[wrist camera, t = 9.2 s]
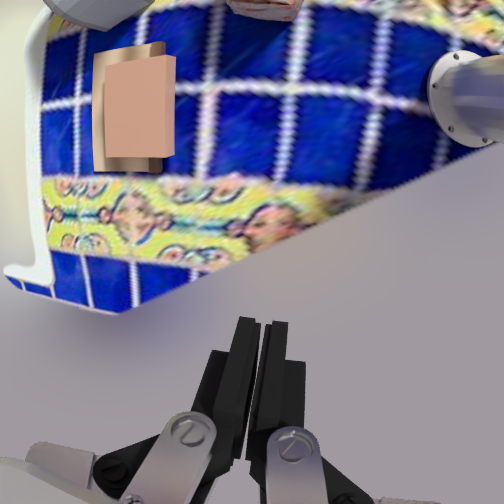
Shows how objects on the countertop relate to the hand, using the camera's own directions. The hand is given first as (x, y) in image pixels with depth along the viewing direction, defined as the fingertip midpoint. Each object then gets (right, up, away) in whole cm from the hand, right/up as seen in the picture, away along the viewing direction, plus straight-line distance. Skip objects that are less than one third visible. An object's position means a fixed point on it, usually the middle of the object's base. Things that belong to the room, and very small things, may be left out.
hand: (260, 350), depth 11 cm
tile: (-10, +20, +21) cm, 31 cm away
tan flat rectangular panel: (-17, +22, +25) cm, 37 cm away
